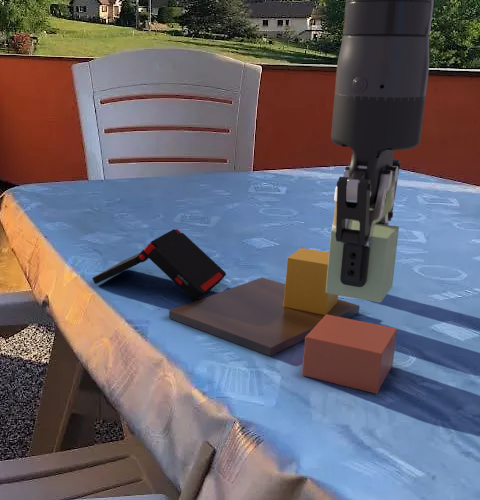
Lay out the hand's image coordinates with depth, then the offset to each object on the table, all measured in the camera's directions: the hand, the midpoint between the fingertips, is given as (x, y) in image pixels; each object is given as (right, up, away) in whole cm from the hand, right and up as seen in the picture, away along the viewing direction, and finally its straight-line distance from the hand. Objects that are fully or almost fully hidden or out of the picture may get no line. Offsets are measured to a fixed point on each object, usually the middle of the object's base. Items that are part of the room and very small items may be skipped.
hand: (360, 275), depth 66 cm
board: (-6, -5, +16) cm, 18 cm away
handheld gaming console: (-15, +2, +23) cm, 28 cm away
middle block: (0, -1, 0) cm, 1 cm away
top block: (0, -4, +17) cm, 18 cm away
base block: (0, -9, +3) cm, 10 cm away
